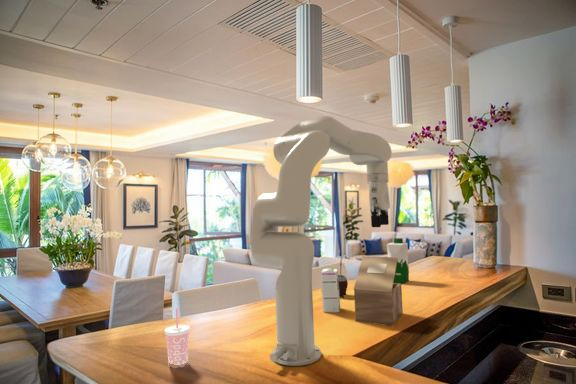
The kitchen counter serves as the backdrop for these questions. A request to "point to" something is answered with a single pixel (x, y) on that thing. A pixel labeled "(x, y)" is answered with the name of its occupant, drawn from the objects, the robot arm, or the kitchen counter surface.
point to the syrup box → (330, 290)
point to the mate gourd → (342, 282)
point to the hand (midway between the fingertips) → (380, 225)
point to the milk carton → (399, 259)
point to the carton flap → (376, 274)
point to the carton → (379, 306)
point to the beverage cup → (177, 342)
